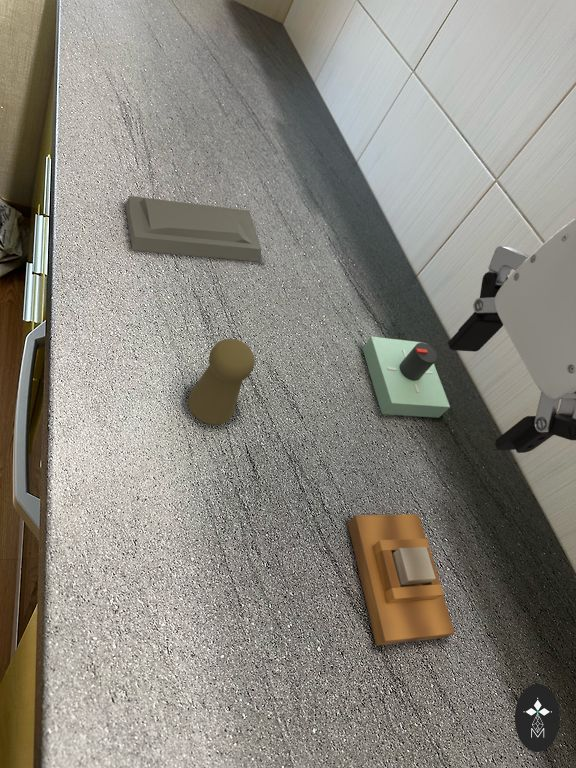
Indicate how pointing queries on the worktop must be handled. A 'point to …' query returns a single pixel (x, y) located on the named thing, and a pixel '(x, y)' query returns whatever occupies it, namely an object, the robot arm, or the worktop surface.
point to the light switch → (397, 581)
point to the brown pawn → (221, 382)
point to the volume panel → (402, 381)
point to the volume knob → (418, 361)
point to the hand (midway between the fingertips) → (484, 394)
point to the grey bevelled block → (191, 229)
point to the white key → (413, 566)
